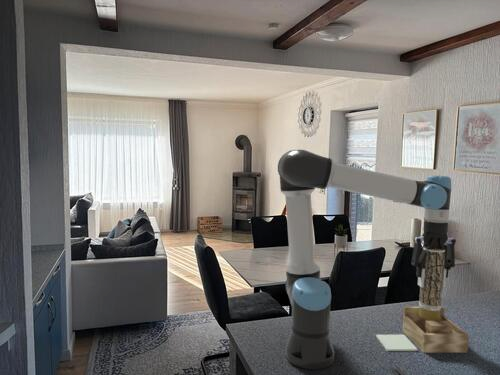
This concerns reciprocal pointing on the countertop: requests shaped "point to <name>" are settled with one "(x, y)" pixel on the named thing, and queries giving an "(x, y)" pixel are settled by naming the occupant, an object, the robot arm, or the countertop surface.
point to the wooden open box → (433, 334)
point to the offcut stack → (438, 327)
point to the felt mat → (396, 343)
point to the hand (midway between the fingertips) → (431, 286)
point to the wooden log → (432, 285)
